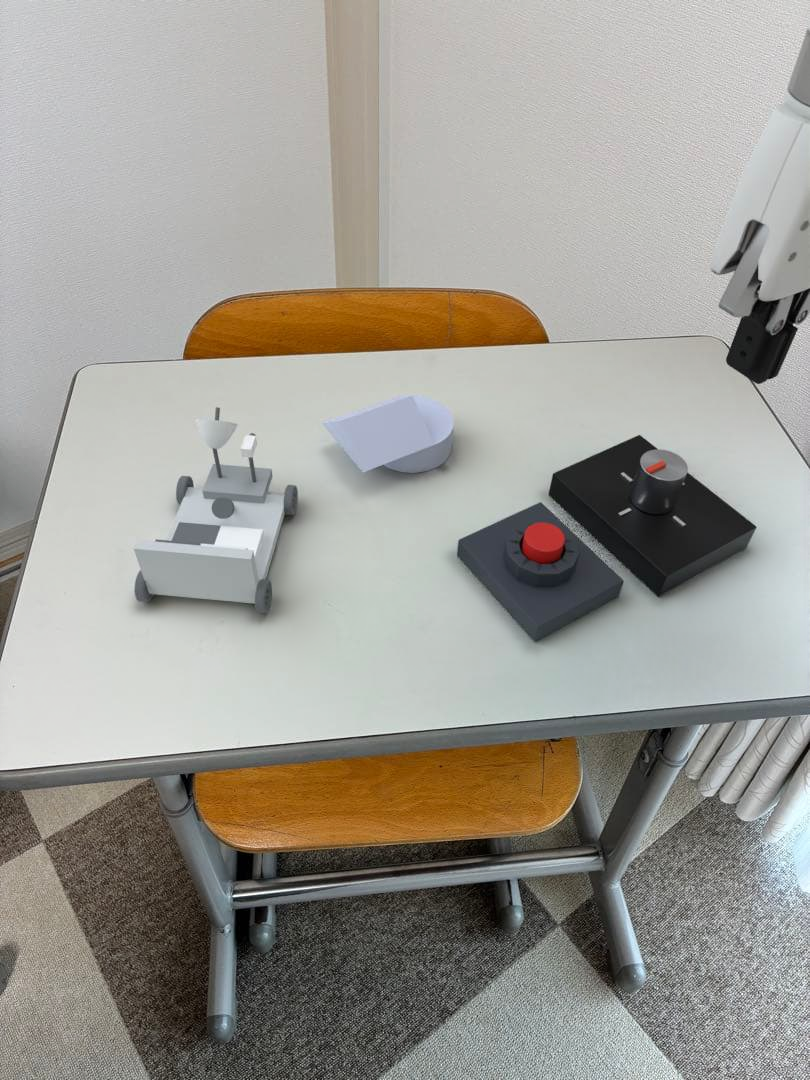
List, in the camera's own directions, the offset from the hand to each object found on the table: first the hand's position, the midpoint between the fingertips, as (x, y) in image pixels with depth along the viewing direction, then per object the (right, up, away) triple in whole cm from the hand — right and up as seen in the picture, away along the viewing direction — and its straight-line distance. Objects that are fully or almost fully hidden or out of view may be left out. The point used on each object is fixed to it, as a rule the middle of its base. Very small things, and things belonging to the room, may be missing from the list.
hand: (750, 370), depth 55 cm
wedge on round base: (-25, -2, +32) cm, 40 cm away
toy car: (-41, -12, +22) cm, 48 cm away
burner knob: (0, -8, +23) cm, 24 cm away
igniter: (-12, -15, +20) cm, 28 cm away
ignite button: (-11, -13, +17) cm, 24 cm away
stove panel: (0, -10, +25) cm, 27 cm away
